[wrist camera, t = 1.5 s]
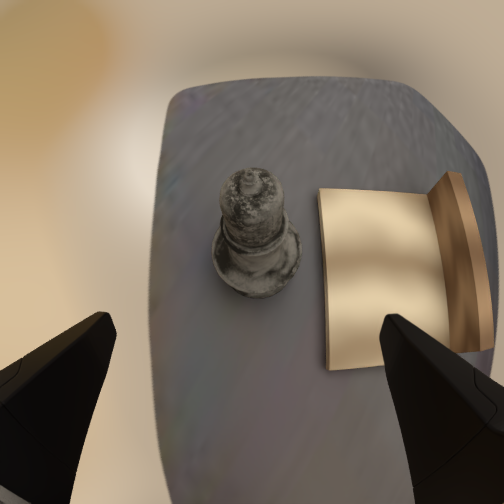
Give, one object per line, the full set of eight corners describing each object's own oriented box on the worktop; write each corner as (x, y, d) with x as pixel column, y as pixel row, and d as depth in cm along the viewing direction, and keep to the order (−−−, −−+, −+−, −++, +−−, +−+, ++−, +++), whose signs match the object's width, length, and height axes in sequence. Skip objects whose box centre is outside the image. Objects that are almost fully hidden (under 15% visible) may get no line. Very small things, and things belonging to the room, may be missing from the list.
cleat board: (455, 351, 18) (494, 347, 13) (326, 369, 19) (345, 375, 14) (434, 202, 23) (460, 173, 18) (317, 195, 23) (328, 158, 19)
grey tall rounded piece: (311, 258, 22) (353, 164, 10) (263, 318, 20) (262, 280, 9) (252, 215, 23) (240, 102, 12) (204, 270, 22) (144, 187, 11)
